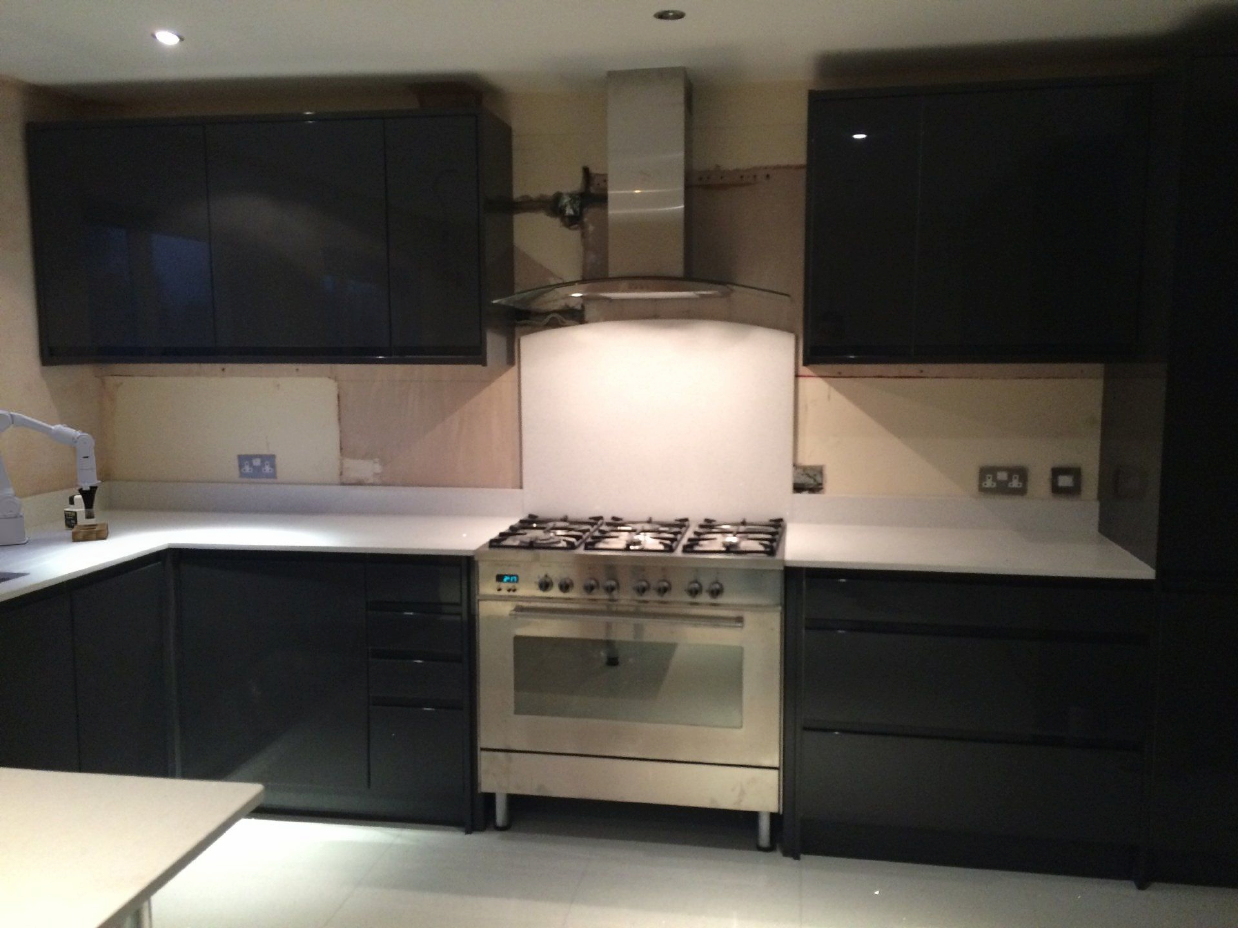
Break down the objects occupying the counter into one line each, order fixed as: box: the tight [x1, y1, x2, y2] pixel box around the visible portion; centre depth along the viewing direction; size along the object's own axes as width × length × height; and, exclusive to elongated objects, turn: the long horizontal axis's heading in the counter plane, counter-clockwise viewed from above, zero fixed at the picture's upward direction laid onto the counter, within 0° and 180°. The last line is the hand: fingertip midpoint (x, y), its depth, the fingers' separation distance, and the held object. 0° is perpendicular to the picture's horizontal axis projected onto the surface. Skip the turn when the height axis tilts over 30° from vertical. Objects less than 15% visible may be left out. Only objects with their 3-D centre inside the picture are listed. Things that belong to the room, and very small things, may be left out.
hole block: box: [71, 522, 109, 543], centre depth 342 cm, size 10×14×4 cm
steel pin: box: [84, 502, 96, 519], centre depth 344 cm, size 3×3×8 cm
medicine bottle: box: [63, 493, 97, 530], centre depth 360 cm, size 7×7×12 cm
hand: (89, 508), depth 344 cm, fingers closed on steel pin, 3 cm apart
